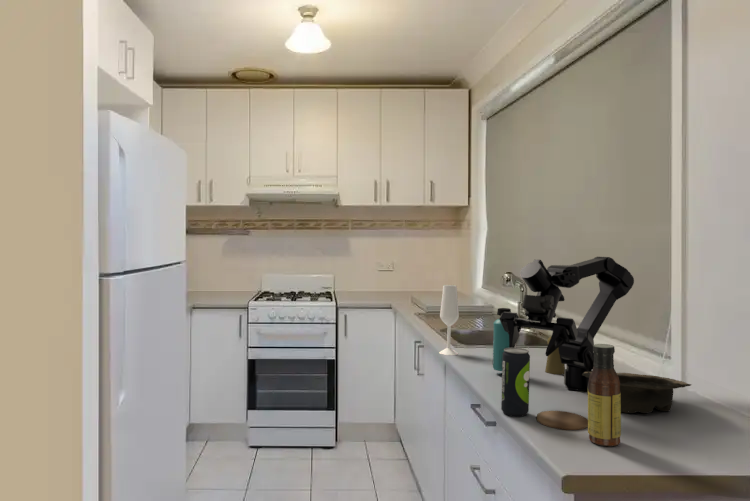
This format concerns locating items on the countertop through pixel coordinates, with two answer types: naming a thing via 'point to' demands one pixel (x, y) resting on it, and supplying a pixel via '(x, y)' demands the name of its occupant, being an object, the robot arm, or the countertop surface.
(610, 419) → the sauce bottle
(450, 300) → the champagne flute
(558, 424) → the walnut coaster
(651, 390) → the stone bowl
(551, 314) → the robot arm
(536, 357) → the countertop surface
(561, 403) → the countertop surface
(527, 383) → the beverage can
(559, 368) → the cork
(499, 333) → the beverage bottle
